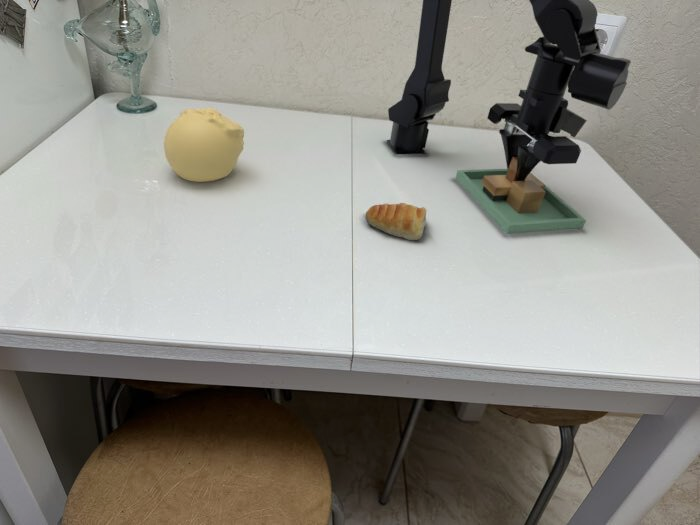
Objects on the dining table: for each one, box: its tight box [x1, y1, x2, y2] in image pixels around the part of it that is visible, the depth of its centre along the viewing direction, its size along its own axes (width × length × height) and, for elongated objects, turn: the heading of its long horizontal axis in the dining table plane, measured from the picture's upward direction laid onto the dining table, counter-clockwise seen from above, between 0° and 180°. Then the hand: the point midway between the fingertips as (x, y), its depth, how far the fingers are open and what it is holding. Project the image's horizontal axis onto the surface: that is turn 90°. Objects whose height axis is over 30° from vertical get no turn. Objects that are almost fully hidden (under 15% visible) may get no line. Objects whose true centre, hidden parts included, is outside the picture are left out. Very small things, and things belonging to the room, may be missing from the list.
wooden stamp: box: [482, 157, 546, 201], centre depth 86 cm, size 10×4×7 cm, turn 106°
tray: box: [455, 168, 586, 234], centre depth 86 cm, size 15×19×2 cm
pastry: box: [365, 202, 427, 241], centre depth 76 cm, size 9×7×4 cm
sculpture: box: [163, 107, 245, 183], centre depth 80 cm, size 12×12×11 cm
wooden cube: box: [506, 181, 545, 213], centre depth 84 cm, size 4×4×4 cm
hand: (515, 177), depth 86 cm, fingers closed on wooden stamp, 2 cm apart
